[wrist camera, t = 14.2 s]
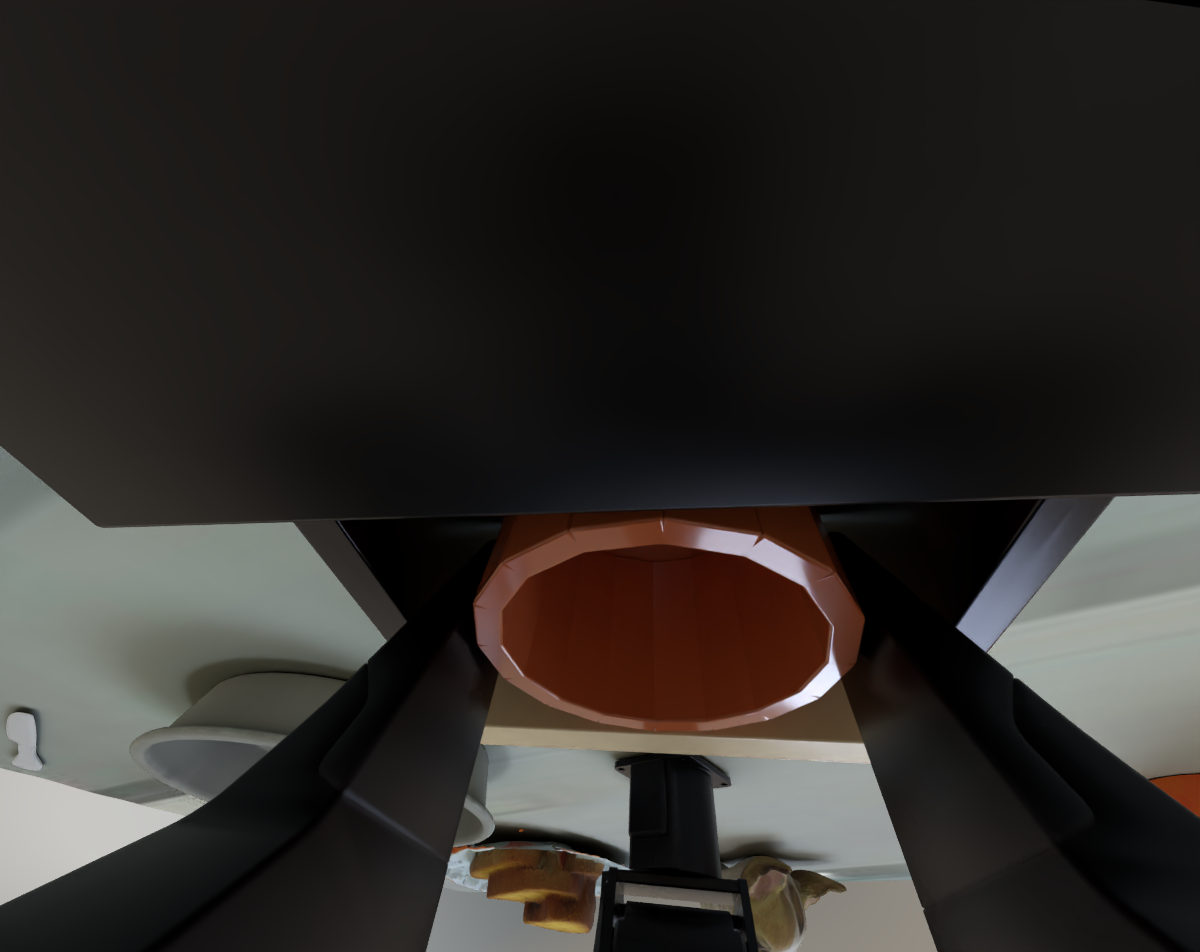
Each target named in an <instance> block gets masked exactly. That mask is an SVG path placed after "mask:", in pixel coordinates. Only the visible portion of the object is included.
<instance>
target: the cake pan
mask: <svg viewBox="0 0 1200 952" xmlns="http://www.w3.org/2000/svg"><path fill="white" fill-rule="evenodd" d="M344 683H346V681H342V680H336V679H330V678H325V677H319V676H313V675H304V674H293V673H254V674H246V675H240V676H236V677H233V678H230V679H227V680H225V681H223V682H221V683H219V684H217V685H216V686H215V687H214V688H213V689H212V690H210V691H209V692H208V693H207V694H206V695H205V696H204V697H202V698H201V699H200V700H199V701H198V702H197V703H196V704H194V705H193V706H192V707H191V708H190V709H189V710H187V711H186V712H185V713H184V714H183V715H182V716H181V717H179V718H178V719H177V720H176V721H175V722H174V723H173V724H172V725H170V726H169V727H163V728H159V729H155V730H152V731H149V732H146V733H144V734H143V735H141V736H139V737H138V738H136V739H135V740H134V741H133V742H132V743H131V745H130V748H129V753H130V755H131V757H132V759H133V760H134V761H135V763H136V764H137V765H138V766H139V767H140V768H141V769H143V770H144V771H145V772H147V773H148V774H150V775H151V776H153V777H154V778H156V779H158V780H160V781H161V782H163V783H165V784H167V785H169V786H171V787H173V788H176V789H178V790H180V791H182V792H184V793H187V794H189V795H192V796H194V797H196V798H199V799H202V800H204V801H207V802H209V801H210V800H212V799H213V798H214V797H216V796H217V795H218V794H220V793H221V792H222V791H223V790H225V789H226V788H227V787H228V786H229V785H231V784H232V783H233V782H234V781H235V780H236V779H238V778H239V777H240V776H241V775H242V774H243V773H245V772H246V771H247V770H248V769H249V768H250V767H251V766H253V765H254V764H255V763H256V762H257V761H258V760H260V759H261V758H262V757H263V756H264V755H265V754H266V753H268V752H269V751H270V750H271V749H272V748H273V747H275V746H276V745H277V744H278V743H279V742H280V741H282V740H283V739H284V738H285V737H286V736H287V735H288V734H290V733H291V732H292V731H293V730H294V729H295V728H297V727H298V726H299V725H300V724H301V723H302V722H303V721H304V720H306V719H307V718H308V717H309V716H310V715H311V714H312V713H313V712H315V711H316V710H317V709H318V708H319V707H320V706H321V705H322V704H323V703H325V702H326V701H327V700H328V699H329V698H330V697H331V696H332V695H333V694H334V693H335V692H336V691H337V690H338V689H339V688H340V687H341V686H342V685H343V684H344ZM487 775H488V756H487V753H486V751H485V749H484V748H483V746H482V745H481V744H480V746H479V750H478V754H477V758H476V761H475V765H474V769H473V773H472V777H471V780H470V784H469V788H468V792H467V796H466V799H465V803H464V807H463V811H462V815H461V818H460V822H459V826H458V830H457V834H456V837H455V841H454V845H453V847H458V846H465V845H471V844H474V843H478V842H481V841H483V840H485V839H486V838H488V837H489V836H490V835H491V834H492V833H493V831H494V828H495V824H494V819H493V817H492V815H491V814H490V812H489V811H488V810H487V809H486V807H485V805H486V790H487Z"/></svg>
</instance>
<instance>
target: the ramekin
mask: <svg viewBox="0 0 1200 952" xmlns="http://www.w3.org/2000/svg"><path fill="white" fill-rule="evenodd" d="M473 611H474V622H475V633H476V643H477V644H478V647H479V648H480V649H481V651H482V652H483V653H484V655H485V656H486V657H487V658H488V660H489V661H490V662H491V663H492V665H493V666H494V667H495V668H496V670H497V671H498V672H499V674H500V675H501V676H502V677H503V678H505V680H506V681H508V682H510V683H511V684H513V685H514V686H516V687H518V688H519V689H521V690H523V691H524V692H526V693H527V694H529V695H531V696H532V697H534V698H535V699H537V700H539V701H540V702H542V703H543V704H547V705H548V706H550V707H553V708H556V709H559V710H562V711H565V712H568V713H571V714H574V715H577V716H580V717H583V718H586V719H589V720H592V721H595V722H599V723H603V724H610V725H616V726H623V727H630V728H636V729H643V730H649V731H654V730H655V731H710V730H712V729H713V730H719V729H724V728H729V727H734V726H740V725H745V724H750V723H756V722H761V721H766V720H769V719H774V718H776V717H778V716H781V715H783V714H785V713H787V712H790V711H792V710H794V709H797V708H799V707H801V706H804V705H806V704H808V703H810V702H813V701H815V700H817V699H819V698H820V697H822V696H823V695H825V694H826V693H827V692H828V691H829V690H830V689H831V688H832V687H833V686H834V685H835V684H836V683H837V682H838V681H839V680H840V679H841V678H842V677H843V676H844V675H845V674H847V673H848V672H849V671H850V670H851V669H852V668H853V667H854V666H855V663H856V662H857V660H858V654H859V649H860V644H861V639H862V634H863V629H864V624H865V615H864V613H863V611H862V609H861V607H860V604H859V602H858V600H857V598H856V595H855V593H854V591H853V589H852V587H851V584H850V582H849V580H848V578H847V575H846V573H845V571H844V569H843V567H842V564H841V562H840V560H839V558H838V555H837V553H836V551H835V549H834V546H833V544H832V542H831V540H830V538H829V535H828V533H827V531H826V529H825V526H824V524H823V522H822V520H821V518H820V515H819V513H818V511H817V509H816V506H791V507H759V508H727V509H695V510H663V511H630V512H598V513H566V514H534V515H505V518H504V520H503V523H502V526H501V528H500V531H499V534H498V536H497V539H496V542H495V544H494V547H493V550H492V552H491V555H490V558H489V561H488V563H487V566H486V569H485V571H484V574H483V577H482V579H481V582H480V585H479V587H478V590H477V593H476V595H475V598H474V602H473Z"/></svg>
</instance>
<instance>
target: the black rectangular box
mask: <svg viewBox="0 0 1200 952" xmlns="http://www.w3.org/2000/svg"><path fill="white" fill-rule="evenodd" d="M0 446H1V447H3V448H4V449H5V450H6V451H7V452H9V453H10V454H11V455H12V456H13V457H14V458H16V459H17V460H18V461H19V462H20V463H22V464H23V465H24V466H25V467H26V468H28V469H29V470H30V471H31V472H32V473H34V474H35V475H36V476H37V477H38V478H40V479H41V480H42V481H43V482H44V483H46V484H47V485H48V486H49V487H50V488H52V489H53V490H54V491H55V492H56V493H58V494H59V495H60V496H61V497H62V498H64V499H65V500H66V501H67V502H68V503H70V504H71V505H72V506H73V507H74V508H76V509H77V510H78V511H79V512H80V513H82V514H83V515H84V516H85V517H86V518H88V519H89V520H90V521H91V522H92V523H94V524H95V525H96V526H99V527H102V528H115V527H147V526H179V525H212V524H244V523H276V522H308V521H341V520H373V519H405V518H437V517H469V516H502V515H534V514H566V513H598V512H630V511H663V510H695V509H727V508H759V507H791V506H824V505H856V504H888V503H920V502H952V501H985V500H1017V499H1049V498H1081V497H1113V496H1146V495H1178V494H1200V0H0Z"/></svg>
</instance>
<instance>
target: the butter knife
mask: <svg viewBox="0 0 1200 952" xmlns="http://www.w3.org/2000/svg"><path fill="white" fill-rule="evenodd" d="M6 728H7V735H8V738H9V739H10V740H12V741H15V742H17V743H18V750H19V753H18V755H16V756H15V757H14V758H13V759H12V764H13V765H15V766H18V767H21V768H25V769H29V770H34V771H39V770H41V769H42V765H43V764H42V762H41V760H40V759H39V757H38V756H37V753H36V748H37V745H36V725H35V721H34V717H33V715H32V714H28V713H23V712H17V713H13V714H11V715H10V716H9V717H8V719H7V724H6Z"/></svg>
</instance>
